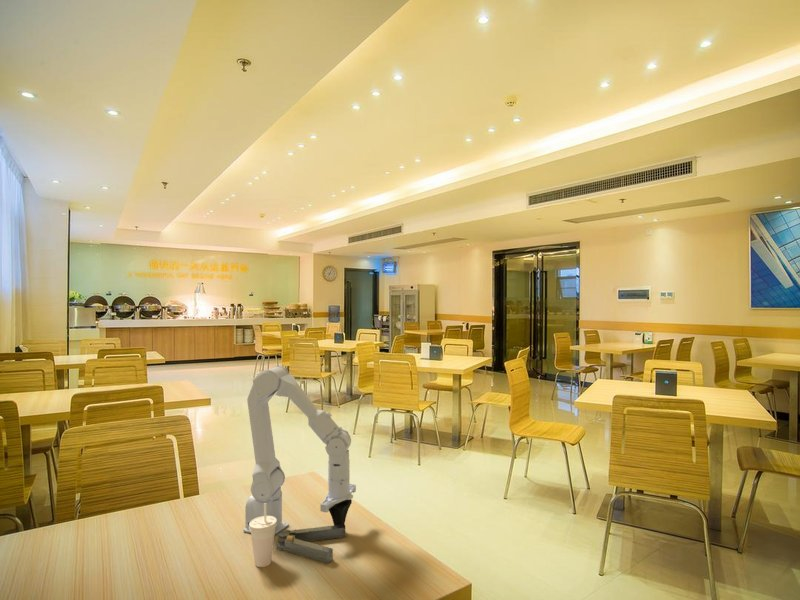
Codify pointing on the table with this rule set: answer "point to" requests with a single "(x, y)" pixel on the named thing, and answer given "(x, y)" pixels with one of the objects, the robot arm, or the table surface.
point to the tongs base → (305, 549)
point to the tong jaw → (316, 533)
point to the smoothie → (263, 538)
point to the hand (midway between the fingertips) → (339, 528)
